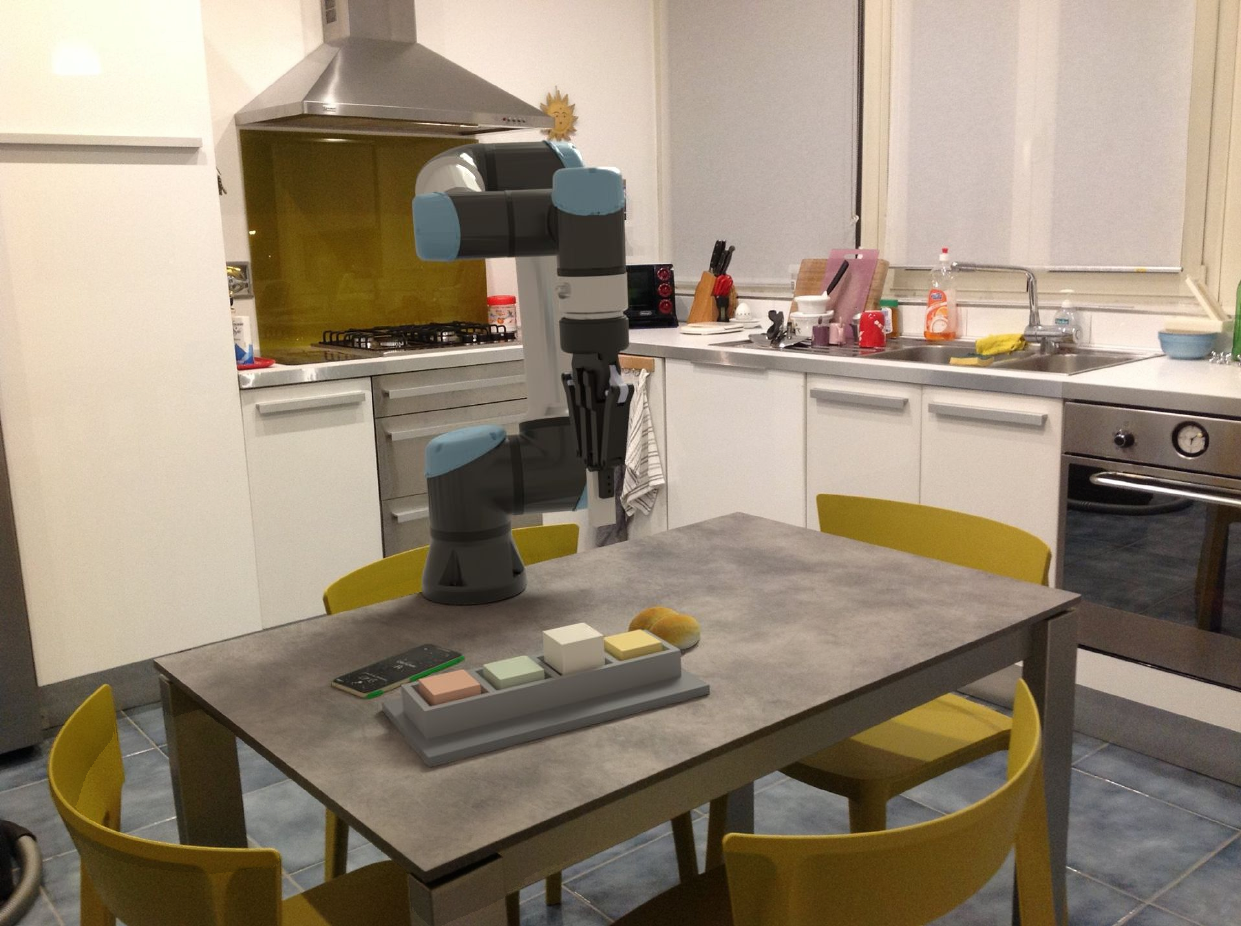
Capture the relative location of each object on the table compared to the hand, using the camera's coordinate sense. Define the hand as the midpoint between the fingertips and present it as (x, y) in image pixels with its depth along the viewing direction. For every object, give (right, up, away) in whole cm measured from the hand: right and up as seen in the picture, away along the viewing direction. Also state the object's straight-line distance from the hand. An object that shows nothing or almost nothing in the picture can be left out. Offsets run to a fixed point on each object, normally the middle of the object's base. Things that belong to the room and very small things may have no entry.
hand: (602, 523), depth 128 cm
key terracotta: (-16, -19, -9) cm, 27 cm away
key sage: (-9, -18, -6) cm, 22 cm away
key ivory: (-3, -15, -3) cm, 16 cm away
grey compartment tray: (-6, -19, -4) cm, 21 cm away
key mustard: (+3, -17, 0) cm, 17 cm away
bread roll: (+7, -16, +13) cm, 22 cm away
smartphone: (-24, -18, +7) cm, 31 cm away
